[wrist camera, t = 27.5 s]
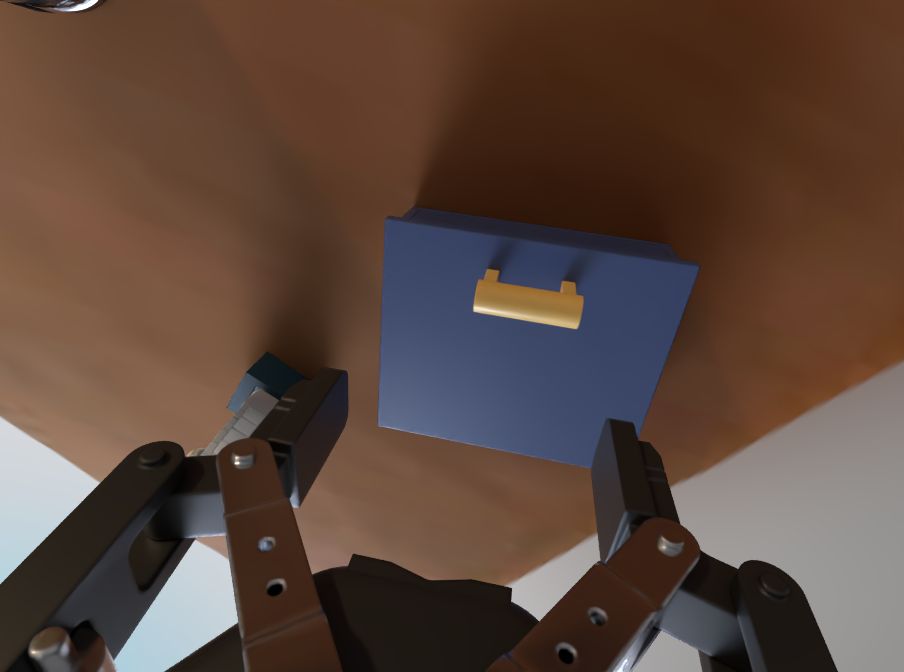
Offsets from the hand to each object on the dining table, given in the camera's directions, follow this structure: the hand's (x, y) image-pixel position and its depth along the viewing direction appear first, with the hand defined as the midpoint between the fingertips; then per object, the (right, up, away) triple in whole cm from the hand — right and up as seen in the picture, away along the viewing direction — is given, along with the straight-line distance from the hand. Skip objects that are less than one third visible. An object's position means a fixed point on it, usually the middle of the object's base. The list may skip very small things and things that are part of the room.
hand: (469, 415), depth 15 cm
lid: (+3, +1, +14) cm, 14 cm away
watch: (-14, -2, +26) cm, 30 cm away
